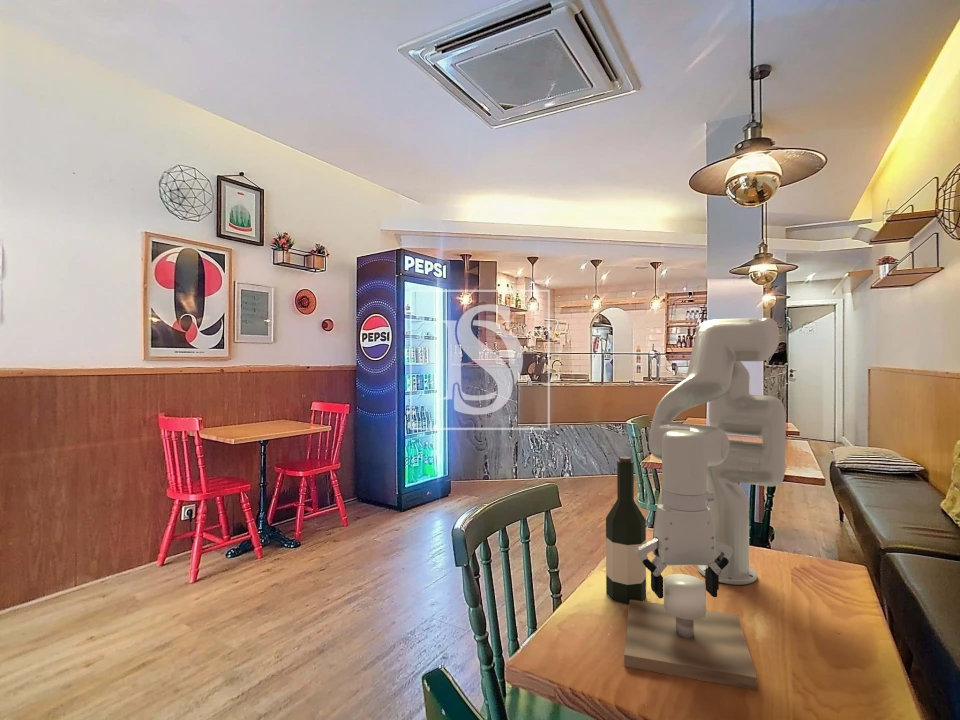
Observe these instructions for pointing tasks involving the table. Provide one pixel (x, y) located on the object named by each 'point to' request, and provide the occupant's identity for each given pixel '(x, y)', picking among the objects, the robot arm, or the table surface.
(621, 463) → the wine bottle
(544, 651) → the table surface
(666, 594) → the light bulb
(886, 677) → the table surface
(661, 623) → the post board
